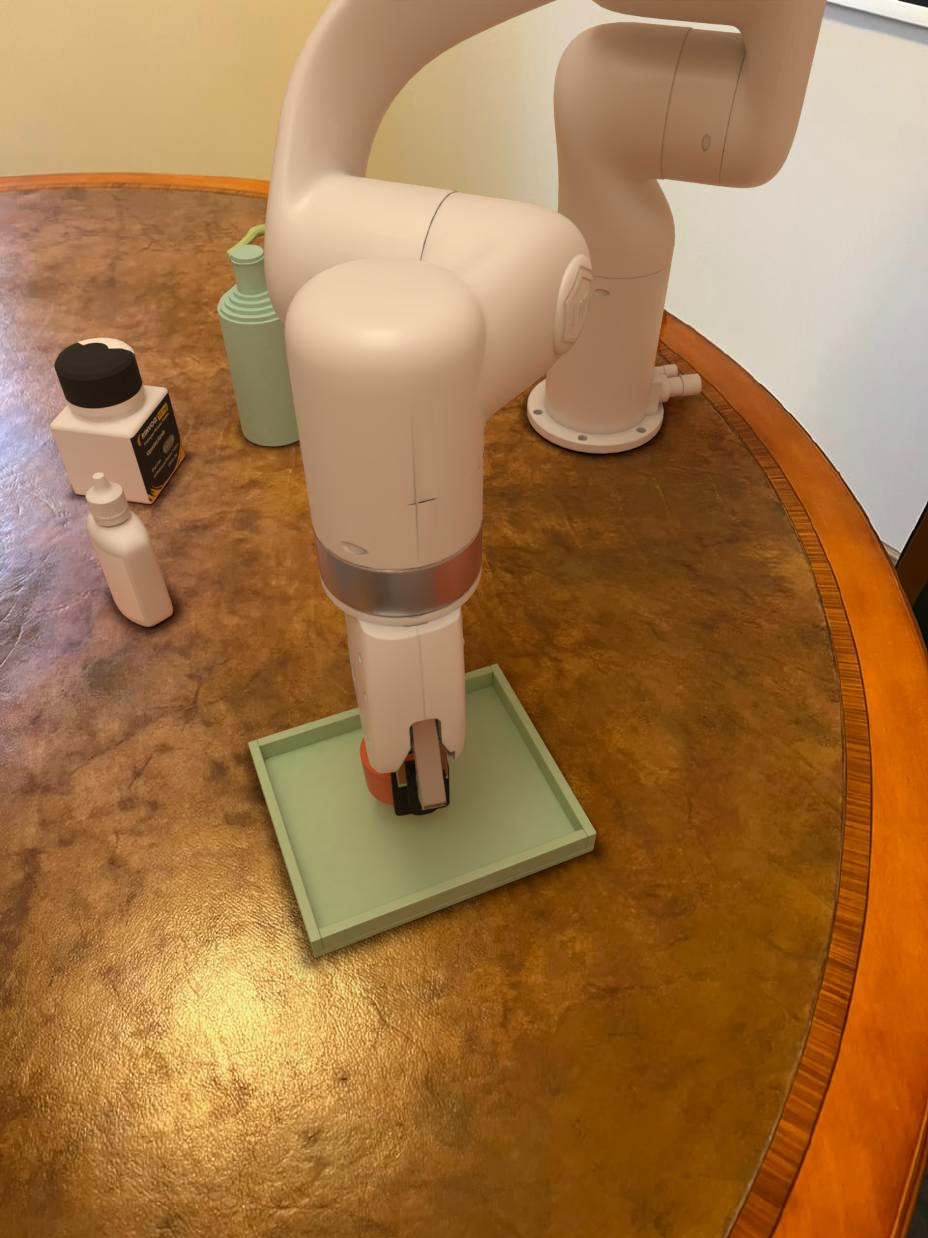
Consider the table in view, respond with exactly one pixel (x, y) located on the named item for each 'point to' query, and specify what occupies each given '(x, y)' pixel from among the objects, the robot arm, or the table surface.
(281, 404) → the bottle
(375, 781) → the cap
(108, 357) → the medicine bottle
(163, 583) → the eye dropper bottle
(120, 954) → the table surface
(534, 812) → the tray
